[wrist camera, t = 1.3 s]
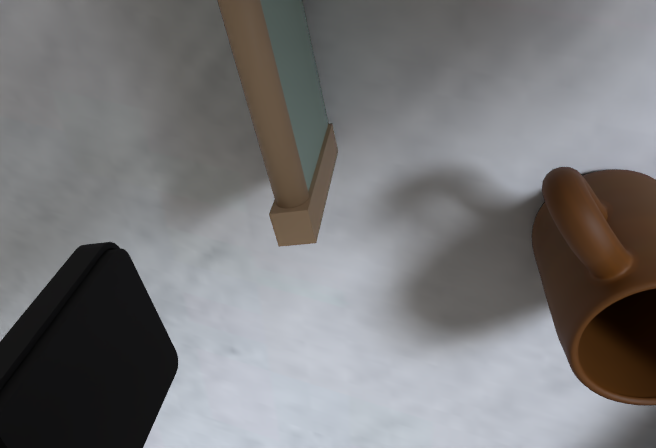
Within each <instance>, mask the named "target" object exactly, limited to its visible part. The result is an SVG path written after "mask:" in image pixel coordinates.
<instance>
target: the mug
mask: <svg viewBox="0 0 656 448" xmlns="http://www.w3.org/2000/svg"><path fill="white" fill-rule="evenodd" d="M542 193H543V197H544V200H545V203H544V204H543V205H542V207H541V208H540V210H539V211H538V214H537V216H536V218H535V221H534V224H533V230H532V245H533V251H534V255H535V259H536V263H537V266H538V269H539V273H540V276H541V280H542V284H543V288H544V292H545V295H546V298H547V302H548V305H549V309H550V312H551V315H552V319H553V322H554V325H555V329H556V332H557V335H558V338H559V340H560V343H561V345H562V347H563V350H564V352H565V354H566V357H567V359H568V362H569V364H570V367H571V369H572V371H573V372H574V374H575V376H576V377H577V378H578V379H579V380H580V381H581V382H582V383H583V384H584V385H585V386H586V387H588V388H589V389H590V390H591V391H593V392H595V393H596V394H598V395H600V396H603V397H605V398H607V399H610V400H613V401H616V402H621V403H626V404H633V405H656V180H655V179H653V178H652V177H650V176H648V175H645V174H642V173H639V172H635V171H630V170H603V171H597V172H592V173H588V174H585V175H583V176H582V175H581V174H580V173H579V172H578V171H577V170H575V169H573V168H570V167H559V168H556V169H553V170H552V171H550V172H549V173H548V174H547V175H546V177H545V178H544V180H543V184H542Z"/></svg>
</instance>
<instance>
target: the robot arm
mask: <svg viewBox="0 0 656 448" xmlns="http://www.w3.org/2000/svg"><path fill="white" fill-rule="evenodd" d="M177 368H178V356H177V352H176V350H175V348H174V346H173V344H172V342H171V340H170V338H169V336H168V334H167V331H166V329H165V327H164V325H163V323H162V321H161V319H160V317H159V315H158V313H157V311H156V309H155V307H154V305H153V303H152V301H151V299H150V297H149V295H148V293H147V291H146V288H145V286H144V284H143V282H142V280H141V278H140V276H139V274H138V272H137V270H136V268H135V266H134V264H133V262H132V260H131V258H130V256H129V254H128V253H127V251H125V250H124V249H120V248H119V246H117V245H116V244H115V243H112V242H106V243H97V244H87V245H82V246H80V247H78V248H77V249H76V250H75V251H74V253H73V254H72V255H71V256H70V257H69V259H68V260H67V261H66V262H65V264H64V265H63V266H62V267H61V268H60V270H59V271H58V272H57V273H56V274H55V276H54V277H53V278H52V279H51V281H50V282H49V283H48V284H47V285H46V287H45V288H44V289H43V290H42V292H41V293H40V294H39V295H38V296H37V298H36V299H35V300H34V301H33V302H32V304H31V305H30V306H29V307H28V309H27V310H26V311H25V312H24V313H23V315H22V316H21V317H20V318H19V320H18V321H17V322H16V323H15V324H14V326H13V327H12V328H11V329H10V330H9V332H8V333H7V334H6V335H5V337H4V338H3V339H2V340H1V341H0V448H143V446H144V444H145V442H146V439H147V437H148V435H149V433H150V431H151V428H152V426H153V424H154V422H155V419H156V417H157V415H158V413H159V410H160V408H161V406H162V404H163V401H164V399H165V397H166V395H167V392H168V390H169V388H170V386H171V383H172V381H173V379H174V377H175V374H176V372H177Z"/></svg>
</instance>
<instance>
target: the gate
mask: <svg viewBox="0 0 656 448" xmlns="http://www.w3.org/2000/svg"><path fill="white" fill-rule="evenodd" d="M218 4H219V7H220V11H221V14H222V18H223V21H224V25H225V28H226V32H227V35H228V38H229V42H230V45H231V49H232V52H233V56H234V59H235V63H236V66H237V70H238V73H239V77H240V80H241V84H242V87H243V90H244V94H245V97H246V101H247V104H248V108H249V111H250V115H251V118H252V122H253V125H254V129H255V132H256V135H257V139H258V142H259V146H260V149H261V153H262V156H263V160H264V163H265V167H266V170H267V174H268V177H269V181H270V184H271V187H272V191H273V194H274V198H275V200H274V203H273V205H272V208H271V211H270V213H269V215H270V219H271V222H272V225H273V229H274V232H275V235H276V239H277V242H278V245H279V246H289V245H300V244H310V243H316V241H317V237H318V233H319V229H320V225H321V220H322V216H323V212H324V208H325V204H326V199H327V195H328V191H329V187H330V183H331V178H332V174H333V170H334V166H335V162H336V157H337V153H338V149H337V144H336V139H335V135H334V130H333V125H332V123H331V124H328V120H327V115H326V110H325V106H324V101H323V96H322V92H321V87H320V82H319V78H318V73H317V68H316V64H315V59H314V54H313V50H312V45H311V40H310V36H309V31H308V26H307V21H306V17H305V12H304V7H303V3H302V0H218Z"/></svg>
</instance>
